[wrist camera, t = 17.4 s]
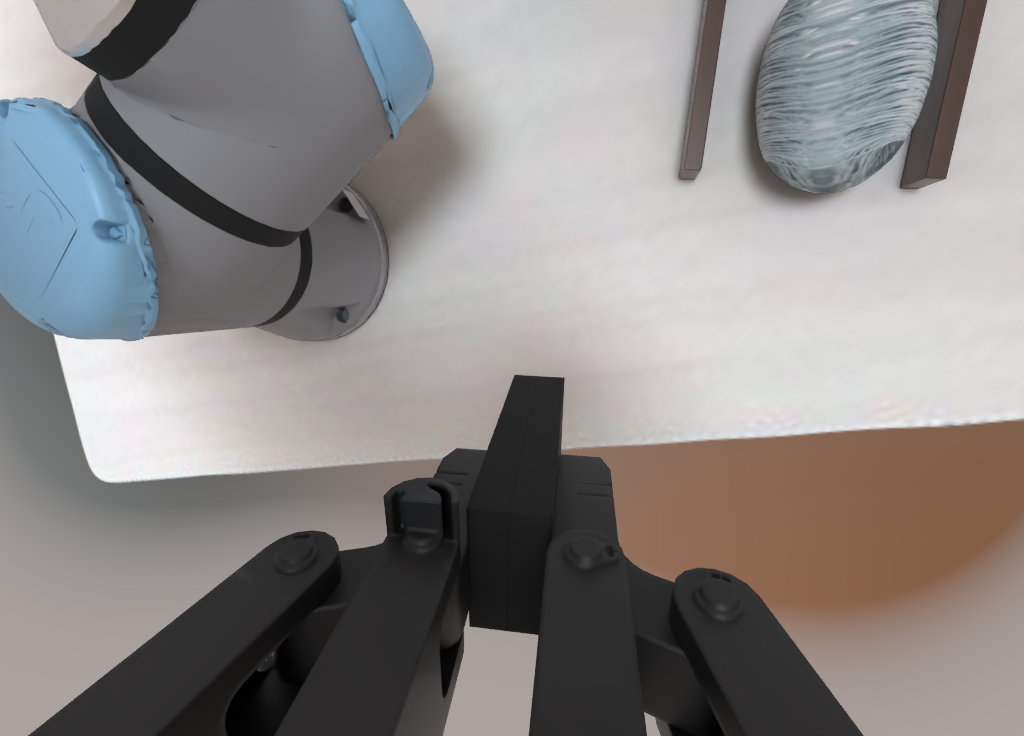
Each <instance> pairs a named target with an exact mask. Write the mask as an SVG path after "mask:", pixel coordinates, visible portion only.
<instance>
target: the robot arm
mask: <svg viewBox="0 0 1024 736" xmlns="http://www.w3.org/2000/svg"><path fill="white" fill-rule="evenodd" d="M34 2H35V4H36V6H37V8H38V10H39V12H40V14H41V16H42V18H43V20H44V22H45V24H46V27H47V29H48V31H49V33H50V35H51V37H52V39H53V41H54V43H55V45H56V46H57V47H58V48H59V49H60V50H61V51H63V52H64V53H65V54H67V55H68V56H70V57H72V58H74V59H75V60H77V61H78V62H80V63H82V64H83V65H85V66H87V67H88V68H90V69H91V70H93V71H95V72H96V73H97V74H96V76H95V77H94V79H93V80H92V82H91V83H90V85H89V86H88V88H87V89H86V90H85V92H84V93H83V95H82V96H81V98H80V99H79V101H78V102H77V103H76V105H75V106H74V107H72V108H70V109H67V108H65V107H63V106H62V105H61V104H59V103H57V102H54V101H51V100H48V99H45V98H34V99H28V98H16V99H13V100H8V99H6V100H0V293H1V294H2V295H3V297H4V298H5V299H6V300H7V301H8V302H9V303H10V304H11V305H12V307H14V309H16V310H17V311H18V312H19V313H20V314H21V315H23V316H24V317H25V318H27V319H28V320H29V321H31V322H32V323H34V324H35V325H37V326H39V327H41V328H43V329H45V330H47V331H49V332H51V333H54V334H57V335H61V336H66V337H69V338H76V339H121V340H124V341H136V340H140V339H143V338H144V337H149V336H159V335H170V334H181V333H192V332H203V331H214V330H225V329H236V328H246V327H257V328H260V329H263V330H266V331H269V332H272V333H274V334H277V335H280V336H283V337H286V338H290V339H294V340H301V341H321V340H328V339H334V338H338V337H341V336H343V335H346V334H348V333H350V332H352V331H353V330H355V329H356V328H358V327H359V326H360V325H361V324H362V323H364V322H365V321H366V319H367V318H368V317H369V316H370V315H371V314H372V312H373V311H374V309H375V308H376V306H377V305H378V303H379V301H380V298H381V296H382V294H383V291H384V288H385V284H386V279H387V274H388V250H387V244H386V239H385V235H384V232H383V229H382V226H381V224H380V222H379V220H378V217H377V216H376V214H375V212H374V211H373V209H372V208H371V206H370V205H369V203H368V202H367V201H366V200H365V199H364V198H363V197H362V196H361V195H360V194H359V193H358V192H357V191H356V190H355V189H353V188H352V187H351V186H349V185H347V184H348V183H349V182H350V181H351V180H352V179H353V178H354V177H355V176H356V175H357V174H358V172H359V171H360V170H361V169H362V168H363V167H364V166H365V165H366V164H367V163H368V162H369V160H370V159H371V158H372V157H373V156H374V155H375V154H376V153H377V152H378V151H379V150H380V149H381V147H382V146H383V145H384V144H385V143H386V142H387V141H388V140H389V139H390V138H391V139H392V140H394V139H396V137H397V136H398V135H399V131H400V127H401V126H402V125H403V123H404V122H405V121H406V120H407V119H408V117H409V116H410V115H411V114H412V113H413V111H414V110H415V109H416V108H417V107H418V106H419V104H420V103H421V102H422V101H423V100H424V98H425V97H426V96H427V94H428V93H429V91H430V89H431V86H432V82H433V71H434V68H433V62H432V58H431V54H430V51H429V49H428V46H427V44H426V42H425V40H424V38H423V35H422V33H421V31H420V30H419V28H418V26H417V24H416V22H415V21H414V19H413V17H412V15H411V13H410V11H409V10H408V8H407V6H406V4H405V3H404V1H403V0H34ZM563 398H564V378H559V377H541V376H523V375H515V376H514V378H513V381H512V384H511V387H510V389H509V392H508V395H507V397H506V400H505V403H504V406H503V408H502V411H501V414H500V417H499V419H498V422H497V425H496V428H495V430H494V433H493V436H492V438H491V441H490V444H489V447H488V449H487V450H474V449H460V448H457V449H455V450H454V451H452V452H451V453H450V454H448V455H447V456H446V457H444V458H443V460H442V462H441V464H440V465H439V467H438V469H437V473H436V474H435V475H434V477H433V478H416V479H413V480H408V481H404V482H402V483H400V484H398V485H396V486H394V487H392V488H391V489H390V490H389V491H388V492H387V493H386V494H385V495H384V505H385V514H386V525H387V537H386V538H385V540H384V542H383V543H382V544H379V545H376V546H371V547H366V548H359V549H353V550H345V551H339V547H338V544H337V542H336V540H335V538H334V537H332V536H330V535H329V534H327V533H325V532H319V531H304V532H297V533H294V534H291V535H288V536H285V537H283V538H280V539H279V540H277V541H275V542H274V543H272V544H270V545H269V546H267V547H266V548H265V549H263V550H262V551H261V552H260V553H258V554H257V555H256V556H255V557H253V558H252V559H251V560H250V561H248V562H247V563H246V564H245V565H243V566H242V567H241V568H239V569H238V570H237V571H236V572H234V573H233V574H232V575H231V576H230V577H228V578H227V579H226V580H224V581H223V582H222V583H220V584H219V585H218V586H217V587H215V588H214V589H213V590H212V591H211V592H209V593H208V594H207V595H205V596H204V597H203V598H202V599H200V600H199V601H198V602H196V603H195V604H194V605H193V606H191V607H190V608H189V609H188V610H186V611H185V612H184V613H183V614H181V615H180V616H179V617H178V618H176V619H175V620H174V621H172V622H171V623H170V624H169V625H167V626H166V627H165V628H164V629H162V630H161V631H160V632H159V633H158V634H156V635H155V636H154V637H152V638H151V639H150V640H148V641H147V642H146V643H145V644H144V645H142V646H141V647H140V648H138V649H137V650H136V651H135V652H133V653H132V654H131V655H130V656H129V657H127V658H126V659H124V660H123V661H122V662H121V663H119V664H118V665H117V666H116V667H114V668H113V669H112V670H111V671H109V672H108V673H107V674H106V675H104V676H103V677H102V678H100V679H99V680H98V681H97V682H95V683H94V684H93V685H92V686H90V687H89V688H88V689H87V690H85V691H84V692H83V693H82V694H81V695H79V696H78V697H76V698H75V699H74V700H73V701H71V702H70V703H69V704H68V705H66V706H65V707H64V708H63V709H61V710H60V711H59V712H58V713H56V714H55V715H54V716H52V717H51V718H50V719H49V720H47V721H46V722H45V723H44V724H42V725H41V726H40V727H39V728H37V729H36V730H35V731H34V732H32V733H31V734H30V735H28V736H443V732H444V728H445V724H446V720H447V716H448V712H449V708H450V704H451V701H452V697H453V693H454V689H455V685H456V681H457V677H458V673H459V669H460V664H461V661H462V657H463V653H464V626H465V622H466V618H467V614H468V611H469V622H470V627H479V628H487V629H495V630H503V631H511V632H520V633H528V634H536V635H539V637H538V647H537V657H536V668H535V678H534V689H533V698H532V709H531V719H530V730H529V736H647V734H646V724H645V716H644V712H645V713H648V714H650V715H652V716H654V717H655V718H656V724H657V726H658V729H659V732H660V735H661V736H863V734H862V733H861V732H860V730H859V729H858V728H857V726H856V725H855V724H854V722H853V721H852V720H851V718H850V717H849V716H848V714H847V713H846V712H845V711H844V709H843V708H842V706H841V705H840V704H839V702H838V701H837V699H836V698H835V697H834V695H833V694H832V693H831V692H830V690H829V689H828V687H827V686H826V685H825V683H824V682H823V681H822V679H821V678H820V677H819V675H818V674H817V673H816V671H815V670H814V669H813V667H812V666H811V665H810V663H809V662H808V661H807V659H806V658H805V657H804V655H803V654H802V653H801V651H800V650H799V649H798V647H797V646H796V645H795V643H794V642H793V641H792V639H791V638H790V637H789V635H788V634H787V633H786V632H785V630H784V629H783V627H782V626H781V624H780V623H779V622H778V620H777V619H776V618H775V616H774V615H773V614H772V612H771V611H770V610H769V608H768V607H767V606H766V604H765V603H764V602H763V600H762V599H761V598H760V597H759V595H758V594H757V593H755V591H754V590H753V589H752V588H751V587H750V586H748V585H747V584H746V583H744V582H743V581H741V580H739V579H738V578H736V577H734V576H732V575H731V574H728V573H725V572H721V571H719V570H715V569H706V568H696V569H691V570H688V571H684V572H683V573H682V574H681V575H679V576H678V577H677V578H676V579H675V583H674V582H671V581H669V580H666V579H662V578H660V577H657V576H654V575H652V574H650V573H648V572H645V571H643V570H642V569H640V568H638V567H637V566H636V565H634V564H633V563H632V562H631V561H630V560H629V559H628V558H626V557H625V555H624V553H623V551H622V548H621V547H620V546H619V542H618V536H617V526H616V517H615V508H614V499H613V490H612V481H611V472H610V469H609V468H608V467H607V465H606V464H605V463H604V462H603V460H602V459H601V458H600V457H586V456H572V455H561V439H562V418H563ZM266 659H267V660H266Z"/></svg>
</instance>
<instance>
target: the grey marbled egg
mask: <svg viewBox="0 0 1024 736" xmlns="http://www.w3.org/2000/svg"><path fill="white" fill-rule="evenodd" d="M937 43H938V33H937V22H936V14H935V7H934V1H933V0H788V2H787V3H786V5H785V6H784V8H783V10H782V11H781V13H780V15H779V17H778V18H777V20H776V22H775V25H774V27H773V29H772V32H771V34H770V37H769V39H768V42H767V44H766V47H765V50H764V53H763V56H762V60H761V65H760V71H759V76H758V82H757V87H756V108H755V116H756V127H757V136H758V142H759V146H760V150H761V153H762V156H763V159H764V160H765V162H766V163H767V165H768V166H769V168H770V169H771V170H772V171H773V173H774V174H775V175H776V176H777V177H778V178H780V179H781V180H782V181H784V182H785V183H787V184H788V185H790V186H792V187H795V188H797V189H800V190H804V191H807V192H813V193H830V192H838V191H842V190H846V189H848V188H851V187H853V186H855V185H857V184H859V183H861V182H863V181H865V180H866V179H868V178H869V177H870V176H872V175H873V174H875V173H876V172H877V171H878V170H880V169H881V168H882V167H883V166H884V165H885V164H886V163H887V162H888V161H889V160H891V159H892V157H893V156H894V155H895V154H896V152H897V151H898V150H899V149H900V147H901V146H902V145H903V143H904V142H905V140H906V139H907V137H908V136H909V134H910V132H911V130H912V128H913V127H914V125H915V123H916V121H917V119H918V117H919V114H920V112H921V109H922V106H923V103H924V100H925V97H926V94H927V91H928V89H929V86H930V82H931V79H932V74H933V69H934V64H935V59H936V53H937Z"/></svg>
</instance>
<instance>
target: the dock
mask: <svg viewBox="0 0 1024 736" xmlns="http://www.w3.org/2000/svg"><path fill="white" fill-rule="evenodd" d="M986 3H987V0H941V2H940V6H939V11H938V16H937V20H936V22H937V33H938V43H937V53H936V59H935V64H934V69H933V74H932V79H931V82H930V86H929V89H928V91H927V94H926V97H925V100H924V103H923V106H922V109H921V112H920V114H919V117H918V119H917V121H916V123H915V125H914V127H913V131H912V136H911V141H910V145H909V150H908V154H907V159H906V164H905V168H904V173H903V178H902V182H901V188H916V189H918V188H921V187H924V186H927V185H930V184H932V183H935V182H938V181H941V180H944V179H946V177H947V172H948V168H949V164H950V159H951V155H952V151H953V146H954V142H955V138H956V133H957V129H958V125H959V120H960V116H961V112H962V107H963V103H964V99H965V94H966V90H967V86H968V81H969V77H970V73H971V68H972V64H973V60H974V55H975V51H976V47H977V42H978V38H979V34H980V29H981V25H982V21H983V16H984V12H985V8H986ZM725 5H726V0H704V4H703V11H702V18H701V25H700V32H699V39H698V46H697V54H696V61H695V68H694V75H693V82H692V89H691V96H690V103H689V111H688V118H687V125H686V132H685V139H684V146H683V153H682V161H681V168H680V175H679V179H689V180H694V179H695V178H696V177H697V175H698V174H699V172H700V171H701V168H702V161H703V154H704V147H705V141H706V134H707V127H708V120H709V113H710V107H711V100H712V93H713V86H714V79H715V73H716V66H717V59H718V52H719V45H720V39H721V32H722V25H723V18H724V11H725Z"/></svg>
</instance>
